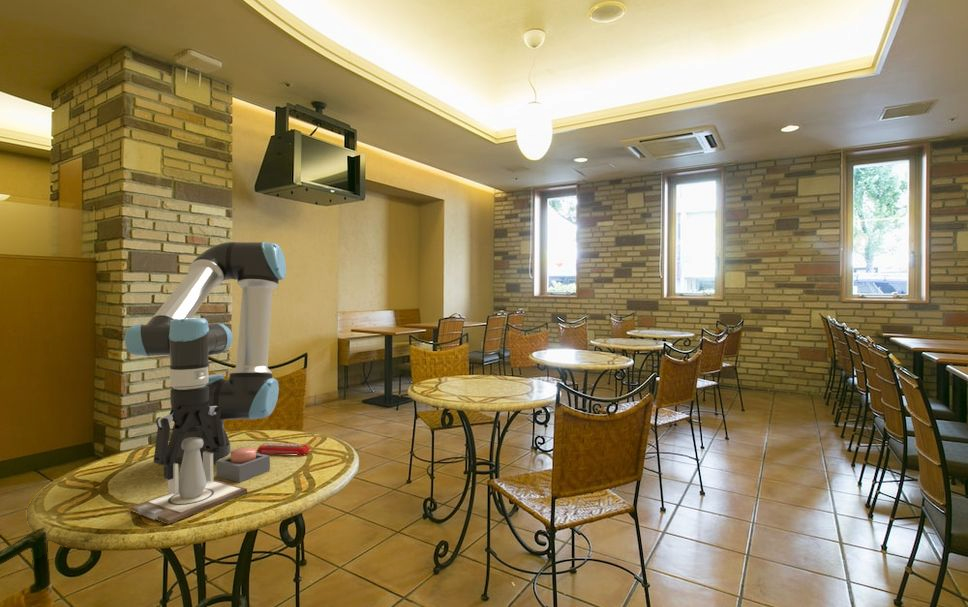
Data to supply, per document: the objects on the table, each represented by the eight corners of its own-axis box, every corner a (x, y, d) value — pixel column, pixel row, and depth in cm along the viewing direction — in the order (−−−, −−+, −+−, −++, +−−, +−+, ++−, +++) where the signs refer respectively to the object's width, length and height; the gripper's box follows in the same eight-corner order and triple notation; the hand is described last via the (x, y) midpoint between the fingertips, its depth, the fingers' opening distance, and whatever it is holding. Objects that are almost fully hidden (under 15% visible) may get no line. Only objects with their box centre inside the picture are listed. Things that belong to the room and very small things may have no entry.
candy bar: (254, 455, 143) (254, 445, 143) (261, 451, 147) (261, 441, 147) (306, 457, 141) (306, 446, 141) (312, 453, 145) (312, 443, 145)
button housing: (216, 476, 126) (216, 461, 126) (247, 465, 134) (247, 451, 134) (239, 482, 122) (239, 466, 122) (269, 470, 130) (269, 455, 130)
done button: (225, 463, 126) (225, 452, 126) (246, 457, 132) (246, 446, 132) (240, 467, 124) (240, 455, 123) (261, 460, 129) (261, 449, 129)
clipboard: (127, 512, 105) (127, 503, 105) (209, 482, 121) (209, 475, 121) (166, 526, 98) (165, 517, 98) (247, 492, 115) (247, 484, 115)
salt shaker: (212, 492, 112) (213, 436, 112) (189, 501, 107) (191, 442, 107) (193, 489, 114) (194, 434, 114) (170, 498, 108) (171, 440, 109)
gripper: (152, 396, 99) (153, 506, 99) (241, 380, 117) (242, 474, 117) (131, 392, 102) (133, 499, 103) (221, 377, 120) (222, 469, 121)
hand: (191, 485), depth 110 cm, fingers open, 7 cm apart
